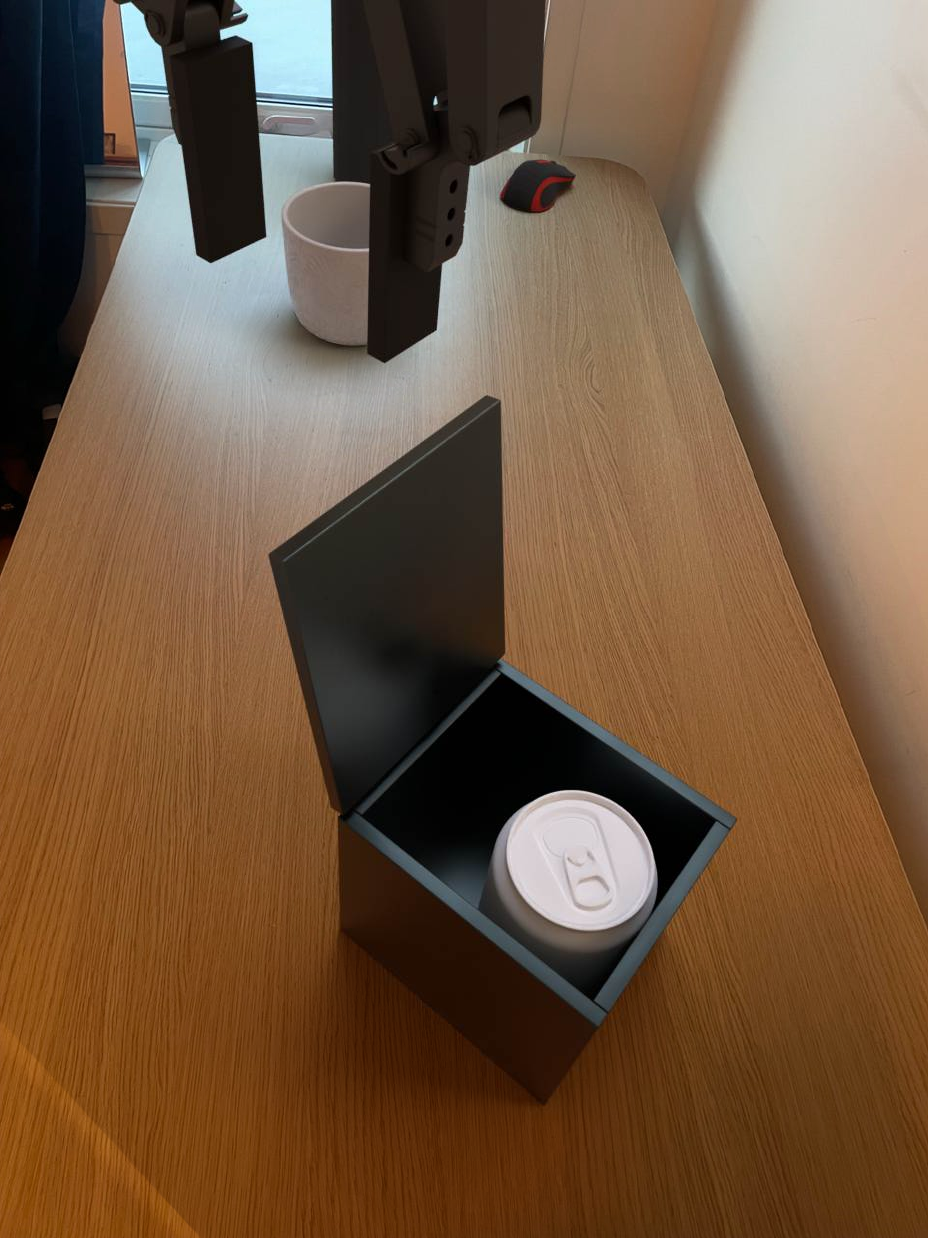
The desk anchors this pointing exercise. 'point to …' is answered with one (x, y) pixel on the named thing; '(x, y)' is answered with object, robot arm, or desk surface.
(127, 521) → the desk surface
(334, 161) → the vase
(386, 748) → the bin lid
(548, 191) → the computer mouse
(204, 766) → the desk surface
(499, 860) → the beverage can
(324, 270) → the planter
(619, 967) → the trash bin
